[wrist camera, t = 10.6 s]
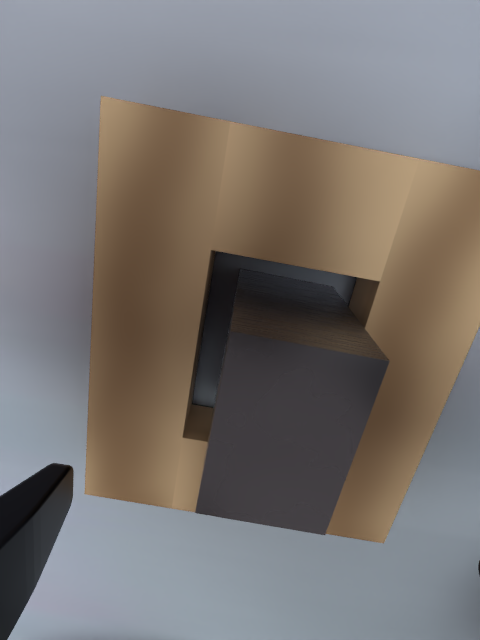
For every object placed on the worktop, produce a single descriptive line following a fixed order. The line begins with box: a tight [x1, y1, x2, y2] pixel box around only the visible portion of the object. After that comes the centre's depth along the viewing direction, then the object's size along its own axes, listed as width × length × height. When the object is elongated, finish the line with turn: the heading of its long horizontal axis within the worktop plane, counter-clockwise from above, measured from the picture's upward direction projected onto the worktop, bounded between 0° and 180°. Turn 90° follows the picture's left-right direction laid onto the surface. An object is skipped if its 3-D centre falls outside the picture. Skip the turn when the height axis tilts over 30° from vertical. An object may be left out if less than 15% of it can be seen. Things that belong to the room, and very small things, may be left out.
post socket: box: [85, 96, 480, 543], centre depth 15 cm, size 14×16×2 cm
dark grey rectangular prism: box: [195, 269, 390, 535], centre depth 13 cm, size 4×6×7 cm, turn 169°
